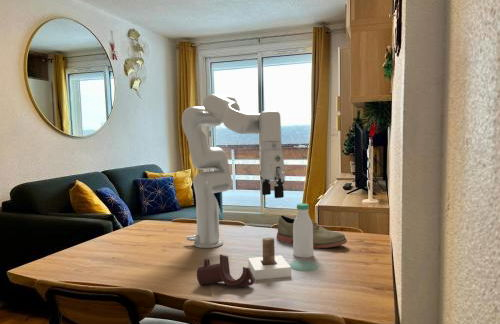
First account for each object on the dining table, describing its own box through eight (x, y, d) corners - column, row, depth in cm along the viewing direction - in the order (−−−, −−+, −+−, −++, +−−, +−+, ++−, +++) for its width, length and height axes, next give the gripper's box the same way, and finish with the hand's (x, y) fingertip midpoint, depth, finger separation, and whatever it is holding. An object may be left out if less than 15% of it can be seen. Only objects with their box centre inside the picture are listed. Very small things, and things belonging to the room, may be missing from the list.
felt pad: (294, 273, 118) (294, 272, 118) (285, 263, 128) (285, 261, 128) (322, 271, 120) (322, 269, 120) (312, 261, 129) (312, 259, 129)
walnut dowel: (264, 273, 117) (263, 241, 116) (261, 269, 121) (261, 237, 120) (276, 272, 118) (275, 240, 117) (273, 268, 122) (272, 237, 121)
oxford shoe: (343, 252, 139) (343, 223, 138) (270, 242, 154) (270, 216, 154) (349, 245, 149) (349, 217, 148) (281, 236, 164) (280, 211, 163)
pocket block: (255, 281, 112) (254, 270, 112) (248, 267, 124) (248, 258, 124) (291, 277, 114) (291, 267, 114) (281, 264, 126) (281, 255, 126)
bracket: (251, 284, 103) (247, 250, 107) (197, 292, 106) (195, 258, 110) (256, 284, 109) (252, 251, 112) (205, 292, 112) (202, 259, 115)
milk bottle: (313, 259, 132) (312, 206, 130) (292, 258, 133) (291, 206, 132) (313, 252, 139) (313, 202, 138) (294, 251, 141) (293, 202, 139)
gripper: (292, 146, 116) (294, 198, 116) (269, 147, 132) (271, 192, 132) (272, 147, 113) (274, 200, 113) (250, 148, 129) (252, 194, 129)
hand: (272, 196), depth 123 cm, fingers open, 9 cm apart
